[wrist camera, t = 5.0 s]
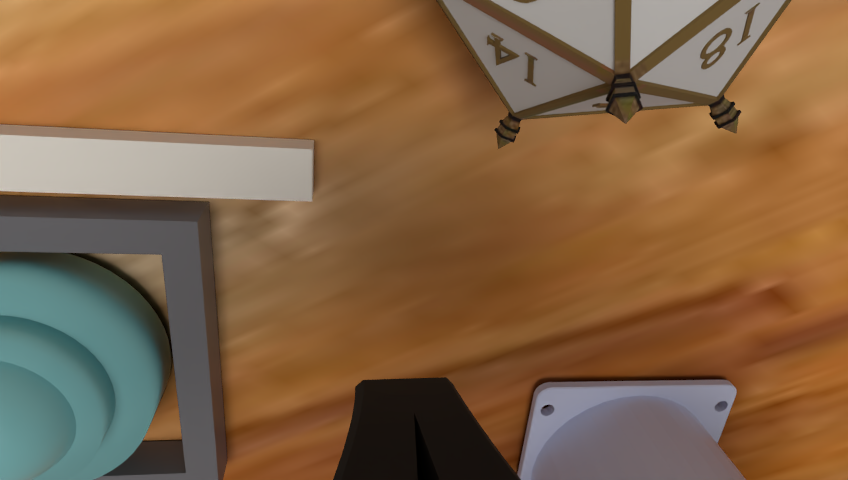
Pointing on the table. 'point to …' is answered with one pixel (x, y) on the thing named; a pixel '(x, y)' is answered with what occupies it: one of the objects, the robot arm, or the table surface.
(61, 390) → the dome
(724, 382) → the robot arm
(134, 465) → the grey square frame
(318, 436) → the table surface
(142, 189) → the frame
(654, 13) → the game die
